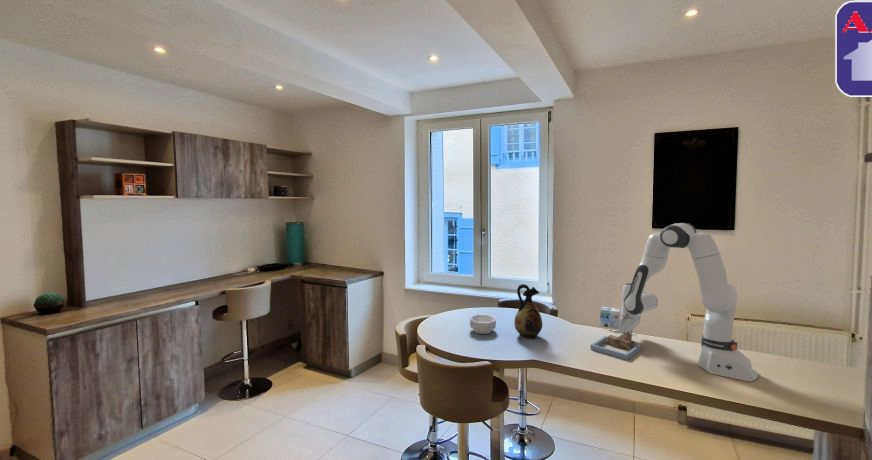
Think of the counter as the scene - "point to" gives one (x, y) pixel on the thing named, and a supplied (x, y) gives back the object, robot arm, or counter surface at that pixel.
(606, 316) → the light bulb box
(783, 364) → the counter surface
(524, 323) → the ceramic jug
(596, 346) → the docking bay
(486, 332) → the white stone bowl
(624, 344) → the walnut T block
